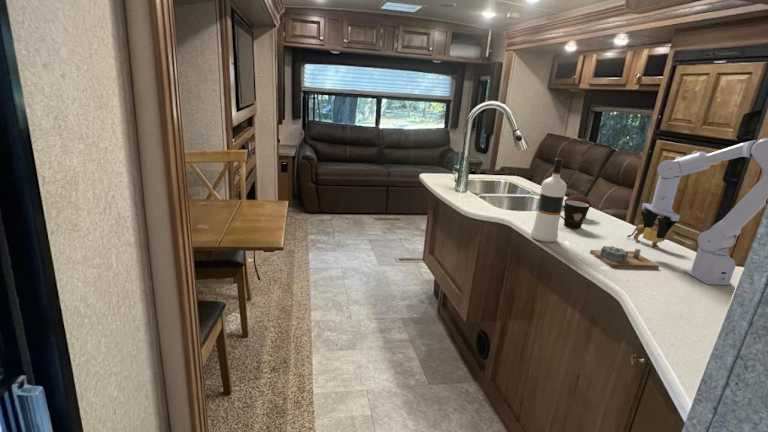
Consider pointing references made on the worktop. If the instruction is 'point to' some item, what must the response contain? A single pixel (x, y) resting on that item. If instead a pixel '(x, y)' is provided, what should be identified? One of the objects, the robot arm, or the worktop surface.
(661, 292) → the worktop surface
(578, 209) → the coffee mug
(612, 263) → the gear board
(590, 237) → the worktop surface
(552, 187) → the vodka
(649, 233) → the ochre gear
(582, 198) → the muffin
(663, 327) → the worktop surface
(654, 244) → the lion figurine
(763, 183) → the robot arm
